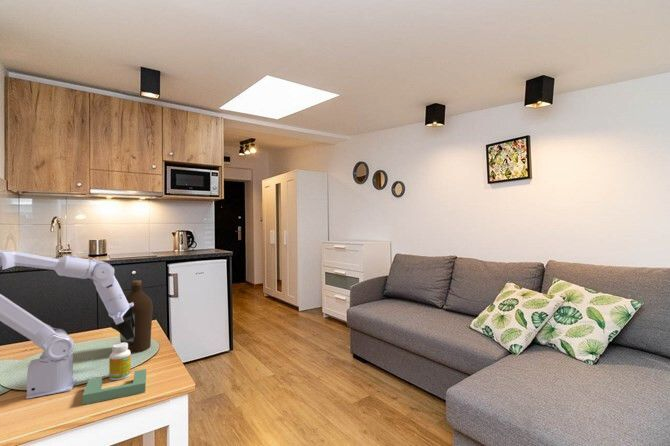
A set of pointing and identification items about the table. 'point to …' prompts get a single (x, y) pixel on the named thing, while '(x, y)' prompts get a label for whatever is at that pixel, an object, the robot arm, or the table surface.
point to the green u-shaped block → (113, 389)
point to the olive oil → (139, 319)
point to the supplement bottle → (119, 361)
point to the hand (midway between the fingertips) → (131, 332)
